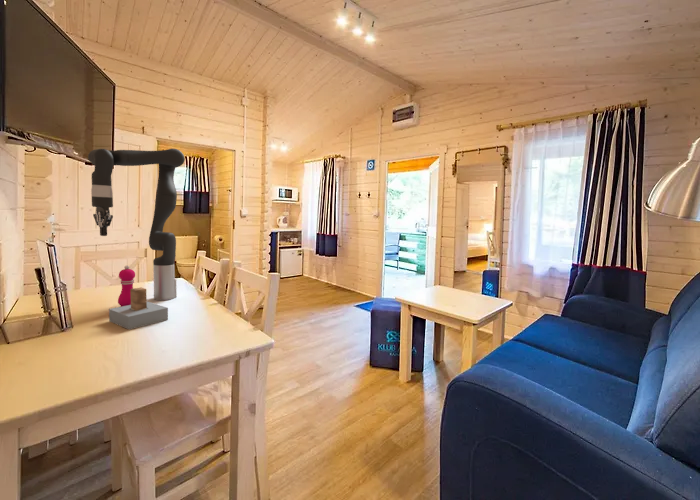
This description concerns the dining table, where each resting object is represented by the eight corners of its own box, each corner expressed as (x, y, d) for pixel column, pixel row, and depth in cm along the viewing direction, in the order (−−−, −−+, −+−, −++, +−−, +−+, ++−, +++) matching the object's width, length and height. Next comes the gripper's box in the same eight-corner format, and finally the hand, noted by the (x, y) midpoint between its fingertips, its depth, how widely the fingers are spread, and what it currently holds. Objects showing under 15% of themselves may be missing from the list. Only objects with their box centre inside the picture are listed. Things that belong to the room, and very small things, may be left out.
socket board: (148, 312, 149) (147, 301, 148) (167, 319, 141) (167, 307, 141) (109, 321, 136) (108, 309, 136) (129, 329, 129) (128, 316, 128)
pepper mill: (122, 313, 146) (120, 267, 144) (115, 310, 150) (114, 265, 148) (140, 310, 152) (139, 265, 149) (133, 307, 156) (132, 263, 154)
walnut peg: (141, 315, 142) (141, 287, 140) (147, 317, 139) (146, 288, 138) (131, 318, 138) (130, 289, 137) (136, 320, 136) (135, 290, 135)
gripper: (119, 196, 149) (120, 236, 151) (104, 196, 156) (105, 234, 158) (99, 195, 143) (101, 237, 145) (85, 195, 150) (86, 235, 152)
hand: (103, 235), depth 151 cm, fingers closed
